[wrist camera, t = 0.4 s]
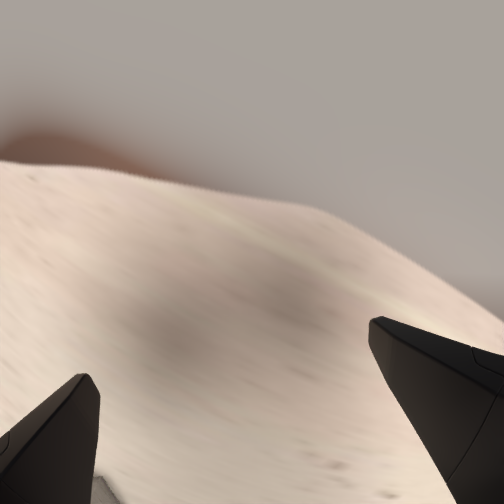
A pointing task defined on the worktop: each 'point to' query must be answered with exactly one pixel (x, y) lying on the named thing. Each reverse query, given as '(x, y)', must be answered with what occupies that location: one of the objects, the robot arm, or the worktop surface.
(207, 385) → the worktop surface
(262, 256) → the worktop surface
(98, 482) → the cube
